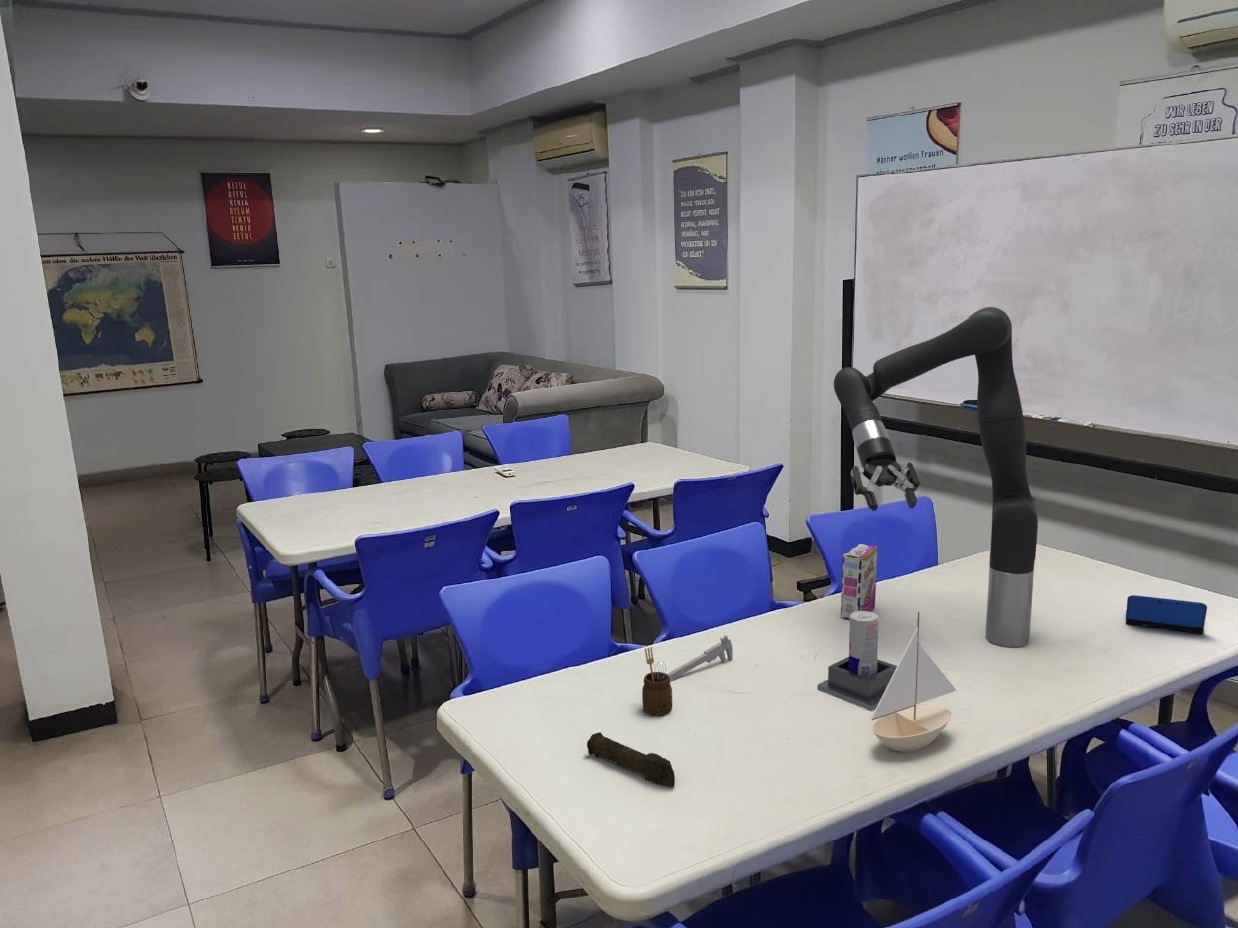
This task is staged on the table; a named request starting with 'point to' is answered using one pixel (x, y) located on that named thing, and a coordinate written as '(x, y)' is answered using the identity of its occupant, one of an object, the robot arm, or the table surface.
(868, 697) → the dark grey square holder
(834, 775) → the table surface
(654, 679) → the utensil holder
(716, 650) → the caliper
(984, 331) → the robot arm
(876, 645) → the beverage can
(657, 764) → the hand tool
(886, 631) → the table surface
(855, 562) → the candy bar box
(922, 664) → the toy sailboat
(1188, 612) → the handheld game console
